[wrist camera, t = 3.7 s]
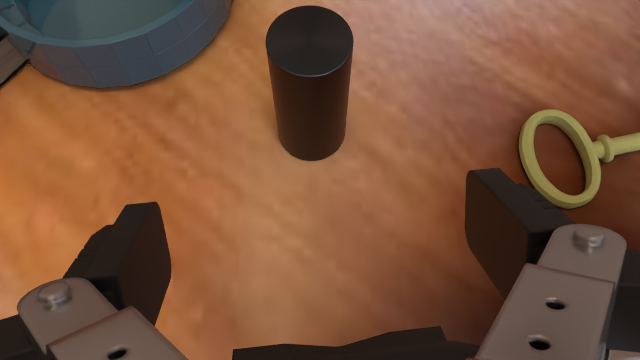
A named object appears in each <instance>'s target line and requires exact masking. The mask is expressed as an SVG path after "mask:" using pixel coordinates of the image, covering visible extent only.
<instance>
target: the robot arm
mask: <svg viewBox="0 0 640 360" xmlns="http://www.w3.org/2000/svg"><path fill="white" fill-rule="evenodd" d="M465 233H466V239H467V243H468V246H469V248H470V250H471V251H472V253H473V254H474V256H475V257H476V258H477V260H478V261H479V263H480V264H481V266H482V267H483V269H484V270H485V272H486V273H487V275H488V276H489V278H490V279H491V281H492V282H493V284H494V285H495V286H496V288H497V289H498V291H499V292H500V294H501V295H502V297H503V298H504V300H505V302H504V304H503V306H502V308H501V310H500V312H499V313H498V315H497V317H496V319H495V321H494V323H493V325H492V326H491V328H490V330H489V332H488V334H487V336H486V338H485V339H484V341H483V343H482V345H481V347H480V346H477V345H472V344H468V343H463V342H456V341H447V340H446V338H445V336H444V333H443V331H442V329H441V327H440V326H438V327H429V328H420V329H412V330H403V331H394V332H388V333H385V334H381V335H378V336H375V337H371V338H368V339H365V340H361V341H358V342H355V343H351V344H348V345H344V346H339V347H329V346H313V345H297V344H278V345H269V346H260V347H251V348H242V349H233V356H232V360H609V358H610V351H611V350H619V351H628V352H638V353H640V251H635V250H627V249H626V245H627V243H626V241H625V239H624V238H623V237H622V236H621V235H619V234H618V233H616V232H614V231H612V230H609V229H607V228H603V227H600V226H595V225H588V224H576V223H574V222H573V221H572V220H571V219H570V218H569V217H567V216H566V215H565V214H564V213H563V212H562V211H561V210H559V209H558V208H557V209H556V206H555V205H554V204H552V203H551V202H550V201H548V199H547V198H546V197H544V196H543V195H542V194H541V193H540V192H539V191H537V190H535V189H533V188H530V187H528V186H526V185H523V184H521V183H520V184H516V183H515V182H514V181H512V180H511V179H510V178H509V177H508V176H507V175H506V174H505V173H504V172H503V171H502V170H500V169H499V168H490V169H480V170H470V171H469V172H468V173H467V177H466V201H465ZM170 279H171V258H170V253H169V248H168V243H167V239H166V234H165V229H164V224H163V219H162V215H161V210H160V207H159V205H158V203H157V202H149V203H139V204H129V205H126V206H125V207H124V209H123V210H122V212H121V213H120V215H119V216H118V218H117V220H116V221H115V223H114V224H113V225H106V226H105V227H103V228H102V229H100V230H99V231H98V232H96V233H95V234H93V235H92V236H91V237H90V239H89V240H88V242H87V243H86V244H85V246H84V249H82V250H81V252H80V253H79V255H78V258H76V259H75V260H74V262H73V263H72V265H71V266H70V268H69V269H68V271H67V272H66V274H65V275H64V276H63V278H62V279H58V280H54V281H51V282H48V283H45V284H43V285H40V286H38V287H36V288H35V289H33V290H31V291H30V292H28V293H27V294H26V295H24V296H23V297H22V298H21V300H20V301H19V302H18V305H17V311H18V315H15V316H12V317H9V318H5V319H2V320H0V360H188V359H187V358H186V357H185V356H184V355H183V354H182V353H181V352H180V351H179V350H178V349H177V348H176V347H175V346H174V345H173V344H172V343H171V342H170V341H169V340H168V339H167V338H166V337H165V336H164V335H162V334H161V333H160V332H159V331H158V330H157V329H156V328H155V327H154V326H155V323H156V320H157V317H158V315H159V312H160V309H161V306H162V303H163V300H164V297H165V294H166V291H167V288H168V285H169V282H170Z"/></svg>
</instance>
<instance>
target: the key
mask: <svg viewBox="0 0 640 360" xmlns="http://www.w3.org/2000/svg"><path fill="white" fill-rule="evenodd" d="M539 124H553V125H556V126H558V127H559V128H561V129H562V130H563V131H564V132H565V133H566V134H567V135H568V136H569V137H570V139H571V140H572V141H573V143H574V145H575V146H576V148H577V150H578V152H579V154H580V156H581V159H582V162H583V165H584V169H585V173H586V186H585V190H584V192H583V193H582V194H580V195H577V196H571V195H567V194H564V193H562V192H561V191H559V190H558V189H556V188H555V187H554V186H553V185H552V184H551V183H550V182H549V181H548V180H547V179H546V177H545V176H544V174H543V173H542V171H541V169H540V167H539V165H538V163H537V160H536V157H535V152H534V145H533V141H534V132H535V129H536V127H537V126H538V125H539ZM637 150H640V132H639V133H635V134H630V135H625V136H620V137H615V138H609V137H608V136H607V135H600V136H598V137H597V139H596V141H595V142H591V140H590V138H589V136H588V135H587V133H586V131H585V130H584V128H583V127H582V126H581V125H580V124H579V123H578V122H577V121H576V120H575V119H574V118H572V117H571V116H570V115H569V114H566V113H564V112H562V111H559V110H552V109H549V110H542V111H539V112H537V113H535V114H534V115H532V116H531V117H530V118H529V119H528V120H527V121H526V122H525V123H524V125H523V127H522V129H521V132H520V136H519V152H520V157H521V161H522V164H523V167H524V169H525V172H526V174H527V176H528V177H529V179H530V181H531V183H532V184H533V186H534V187H535V189H536V190H537V191H539V192H540V193H541V194H542V195H543V196H544V197H546V198H547V199H548V201H550V202H551V203H552V204H554V205H556V206H558V207H561V208H566V209H570V208H576V207H579V206H582V205H585V204H586V203H588V202H589V201H591V200H592V198H593V197H594V196H595V194H596V193H597V191H598V189H599V185H600V179H601V169H600V164H599V160H598V158H599V159H600V160H602V161H603V162H610V161H612V159H613V158H614V155H618V154H623V153H628V152H633V151H637Z"/></svg>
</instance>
